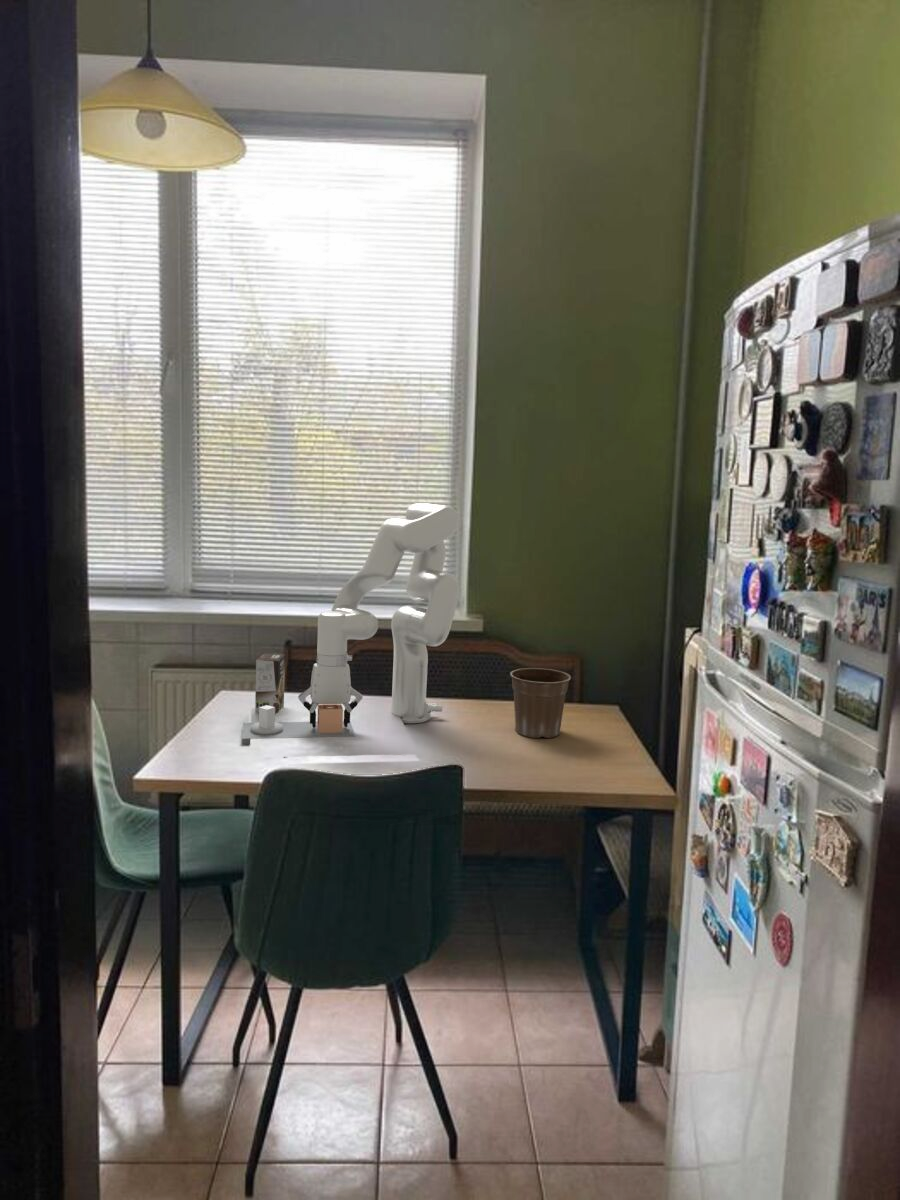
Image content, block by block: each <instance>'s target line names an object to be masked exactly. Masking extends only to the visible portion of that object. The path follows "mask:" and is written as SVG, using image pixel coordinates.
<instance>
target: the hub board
mask: <svg viewBox="0 0 900 1200" xmlns="http://www.w3.org/2000/svg"><path fill="white" fill-rule="evenodd" d="M326 709H335V708H333V707H327V708H326ZM345 737H346V738H352V737H353V738H355V737H356V733H355V731H354V727H353V725H352V722H351V721H350V723H348V726H347V727H344V720H343V728H342V732H336V733H319V731H318V727H317V721H316V727H315V728H313V726H312V724H310V721H276V713H275V707H272V706H268V705H266V706H262V707H259V712H258V722H242V734H241V745H251V740H253V739H256V740H257V739H301V738H302V739H303V738H304V739H306V738H307V739H308V738H310V739H312V738H345Z"/></svg>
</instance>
